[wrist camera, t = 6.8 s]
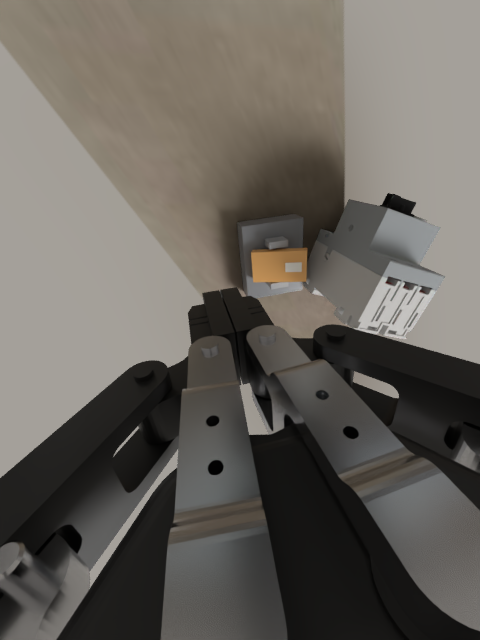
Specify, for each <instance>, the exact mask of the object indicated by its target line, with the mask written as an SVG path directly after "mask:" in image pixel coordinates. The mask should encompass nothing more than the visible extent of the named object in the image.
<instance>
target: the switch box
mask: <svg viewBox="0 0 480 640" xmlns="http://www.w3.org/2000/svg"><path fill="white" fill-rule="evenodd" d="M237 229H238V239H239V249H240V259H241V269H242V280H243V290H244V293H245V295H246V296H252V297H254V298H260V297H266V296H271V295H277V294H282V293H288V292H293V291H299V290H302V282H253V272H252V259H251V252H252V250H259V249H277V248H283V249H286V248H303V217H301V216H298V215H296V214H290V215H283V216H276V217H269V218H262V219H256V220H249V221H242V222H237Z"/></svg>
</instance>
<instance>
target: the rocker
mask: <svg viewBox="0 0 480 640" xmlns="http://www.w3.org/2000/svg"><path fill="white" fill-rule="evenodd" d="M251 259H252V272H253V282H306V277H307V248H286V249H283V248H277V249H259V250H252V252H251Z"/></svg>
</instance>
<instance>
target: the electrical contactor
mask: <svg viewBox="0 0 480 640" xmlns="http://www.w3.org/2000/svg"><path fill="white" fill-rule="evenodd" d="M415 204H416V202H412V201H409V200H406V199H403V198H401V197H400V196H398V195H395V194H389V193H388V194H387V196H386V198H385V200H384V202H383V204H382V205H380V206H377V205H372V204H368V203H363V202H359V201H354V200H350V199H349V200H348V202H347V205H346V207H345V209H344V212H343V214H342V216H341V218H340V221H339V223H338V225H337V228H336V230H335V232H334V233H333V232H330V231H327V230H323V229H320V232H319V234H318V237H317V239H316V241H315V244H314V246H313V249H312V251H311V254H310V256H309V259H308V261H307V277H306V282H302V283H303V284H304V285H303V286H304V287H305V288H307V289H308V290H309V291H310V292H311V293H312V294H316V295H321V296H324V297H326V298H327V299H328V300H329V301H330V302H331V303H332V304H333V305H335V306H336V307H337V308H336V310H335V312H334V315H335V316H336V317H337V318H338V319H339V320H340V321H341V322H342V323H344V324H345V325H349V326H350V327H352V328H353V329H356V330H360V331H363V332H368V333H373V334H378V333H380V334H382V335H384V336H390V337H395V338H401V339H406V338H407V337H405V335H406V334H407V332H408V331H411V330H412V328H413V327H414V325H415V324H416V322H417V321H418V319H419V317H420V316H421V314H422V313H423V311H424V310H425V308H426V307H427V305H428V303H429V302H430V300H431V299H432V297H433V296H434V294H435V292H436V291H437V289H438V288H439V286H440V285H441V283H442V281H443V279H444V278H445V276H443V275H441V274H438V273H436V272H434V271H431V270H429V269H426V268H424V267H422V266H420V265H419V264H420V263H421V261H422V259H423V257H424V256H425V254H426V252H427V250H428V248H429V247H430V245H431V243H432V242H433V240H434V238H435V236H436V235H437V233H438V231H439V229H440V227H438V226H435V225H432V224H430V223H427V220H424V219H421V218H419V217H416V216H414V215H413V214H411V212H412V210H413V208H414V206H415Z"/></svg>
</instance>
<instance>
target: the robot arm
mask: <svg viewBox="0 0 480 640" xmlns="http://www.w3.org/2000/svg"><path fill="white" fill-rule="evenodd" d="M202 294H203V300H204V304H202V305H197V306H192V308H191V309H190V311H189V312H188V317H189V325H190V335H191V344H192V345H191V346H190V348H189V353H188V356H187V357H186V358H185V359H184V360H183V361H181V362H179V363H178V364H175V365H173V366H171V367H169V368H167V366H166V365H165V364H164V363H162V362H160V361H145V362H141V363H138V364H136V365H134V366H132V367H131V368H129V369H128V370H127V371H125V372H124V373H123V374H122V375H121V376H120V377H118V378H117V379H116V380H115V381H114V382H113V383H112V384H110V385H109V386H108V387H107V388H106V389H104V390H103V391H102V392H101V393H100V394H99V395H97V396H96V397H95V398H94V399H93V400H91V401H90V402H89V403H88V404H87V405H86V406H85V407H83V408H82V409H81V410H80V411H79V412H77V413H76V414H75V415H74V416H73V417H72V418H70V419H69V420H68V421H67V422H66V423H64V424H63V425H62V426H61V427H60V428H59V429H57V430H56V431H55V432H54V433H53V434H52V435H51V436H49V437H48V438H47V439H46V440H45V441H44V442H42V443H41V444H40V445H39V446H38V447H36V448H35V449H34V450H33V451H32V452H30V453H29V454H28V455H27V456H26V457H25V458H24V459H22V460H21V461H20V462H19V463H18V464H16V465H15V466H14V467H13V468H12V469H11V470H9V471H8V472H7V473H6V474H5V475H4V476H2V477H1V478H0V640H480V364H477V363H473V362H470V361H466V360H462V359H459V358H456V357H452V356H448V355H444V354H441V353H438V352H434V351H430V350H427V349H424V348H420V347H416V346H413V345H409V344H406V343H402V342H399V341H395V340H392V339H388V338H385V337H381V336H378V335H374V334H370V333H367V332H363V331H360V330H356V329H353V328H349V327H346V326H342V325H325V326H322V327H319V328H318V329H316V330H315V332H314V335H313V338H291V336H290V335H289V334H288V333H287V332H286V331H285V330H284V329H283V328H281V327H278V326H274V324H273V323H272V321H271V320H270V318H269V316H268V315H267V313H266V312H265V310H264V308H263V307H262V305H261V304H260V302H259V300H257V299H256V298H254V297H252V296H246V297H242V296H241V294H240V292H239V290H238V289H237V287H234V288H229V289H223V290H220V292H219V290H218V291H212V292H206V293H202ZM354 371H356V372H358V373H362V374H364V375H367V376H369V377H372V378H375V379H377V380H380V381H383V382H386V383H388V384H390V385H392V386H393V387H394V388H395V389H396V390H397V391H398V393H399V398H392V397H390V396H387V395H384V394H382V393H379V392H377V391H374V390H372V389H369V388H367V387H364V386H362V385H359V384H357V383H354V382H353V376H354ZM240 377H241V380H242V383H243V384H247V383H250V385H251V387H252V396H253V401H254V403H255V405H256V407H257V410H258V412H259V414H260V416H261V418H262V421H263V423H264V425H265V427H266V429H267V432H268V434H269V435H249V432H248V427H247V422H246V417H245V412H244V406H243V401H242V396H241V391H240V386H239V385H241V380H240ZM137 426H138V427H139V429H138V430H137V431H136V432H135V434H134V435H133V436H132V437H131V438H130V439H129V440H128V442H126V444H125V445H124V446H123V447H122V448H121V449H120V450H119V451H118V452H117V454H116V455H115V456H114V453H115V452H116V450H117V448H118V447H119V446H120V445H121V444H122V443H123V442H124V441H125V439H126V438H127V437H128V436H129V435H130V434H131V433H132V431H134V430H135V428H136V427H137ZM177 449H178V464H177V468H176V469H175V470H174V471H173V472H171V473H170V474H169V475H168V476H167V477H166V478H165V479H164V480H163V481H162V482H161V484H160V485H159V486H158V487H157V489H156V490H155V491H154V492H153V494H152V495H151V497H150V498H149V500H148V501H147V503H146V504H145V506H144V508H143V509H142V510H141V512H140V513H139V515H138V517H137V518H136V520H135V521H134V523H133V524H132V526H131V527H130V529H129V530H128V532H127V533H126V535H125V536H124V538H123V539H122V541H121V542H120V544H119V545H118V547H117V548H116V550H115V551H114V553H113V554H112V556H111V558H110V559H109V560H108V562H107V564H106V565H105V566H104V568H103V570H102V571H101V573H100V574H99V576H98V577H97V579H96V580H95V582H94V583H93V585H92V586H91V588H90V589H89V586H90V573H89V572H90V570H91V569H92V568H93V566H94V565H95V563H96V562H97V561H98V559H99V558H100V556H101V555H102V554H103V552H104V551H105V550H106V548H107V547H108V545H109V544H110V542H111V541H112V540H113V538H114V537H115V536H116V534H117V533H118V531H119V530H120V529H121V527H122V526H123V524H124V523H125V522H126V520H127V519H128V517H129V516H130V515H131V513H132V512H133V511H134V509H135V508H136V506H137V505H138V503H139V502H140V501H141V499H142V498H143V497H144V495H145V494H146V492H147V491H148V490H149V488H150V487H151V486H152V484H153V483H154V481H155V480H156V479H157V477H158V475H159V474H160V473H161V472H162V470H163V469H164V467H165V466H166V465H167V463H168V462H169V460H170V459H171V458H172V456H173V455H174V453H175V452H176V451H177ZM113 456H114V457H113Z"/></svg>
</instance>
